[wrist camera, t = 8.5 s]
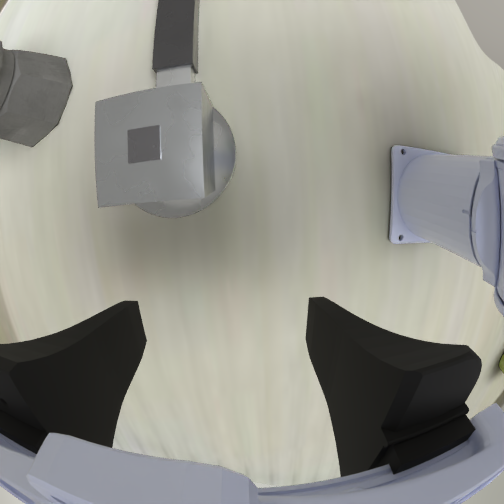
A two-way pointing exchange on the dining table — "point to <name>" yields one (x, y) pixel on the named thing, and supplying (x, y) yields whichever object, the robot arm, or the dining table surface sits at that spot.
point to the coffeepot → (31, 94)
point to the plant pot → (502, 363)
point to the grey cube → (154, 146)
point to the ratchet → (182, 72)
